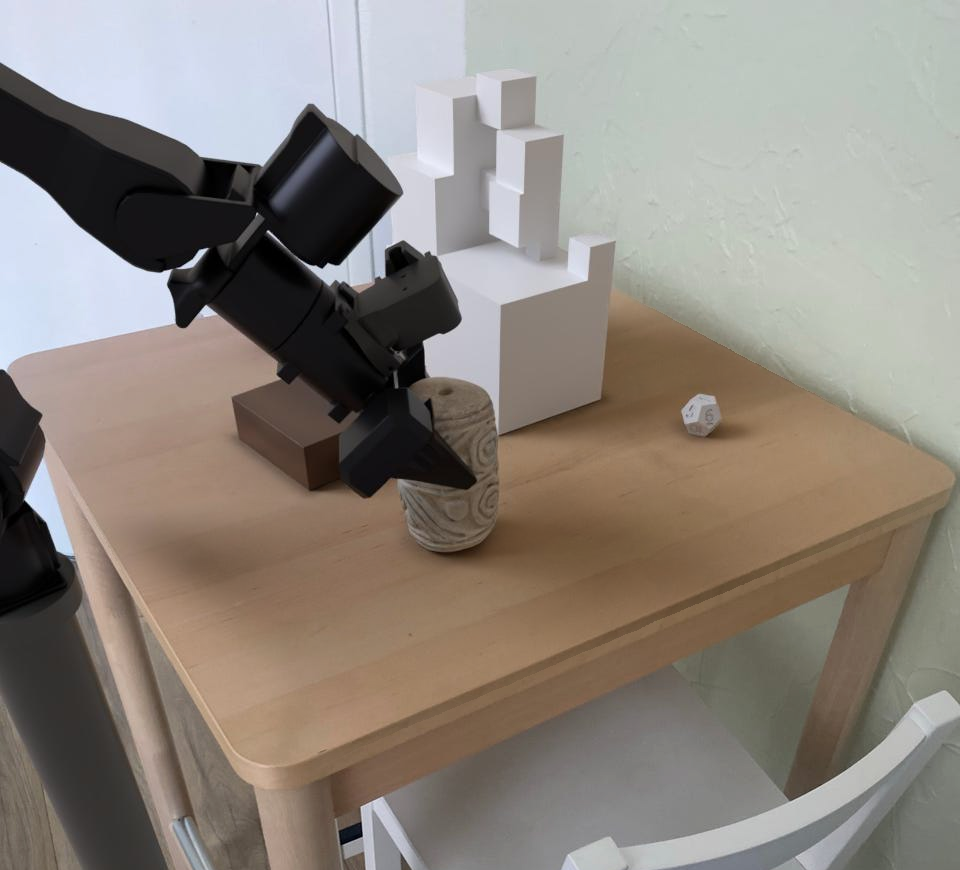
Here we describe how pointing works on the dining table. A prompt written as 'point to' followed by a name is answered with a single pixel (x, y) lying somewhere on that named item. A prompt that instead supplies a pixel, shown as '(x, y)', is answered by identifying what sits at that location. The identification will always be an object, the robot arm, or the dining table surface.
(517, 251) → the building blocks
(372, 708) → the dining table surface
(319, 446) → the walnut block
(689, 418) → the game die
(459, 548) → the carving
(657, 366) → the dining table surface
